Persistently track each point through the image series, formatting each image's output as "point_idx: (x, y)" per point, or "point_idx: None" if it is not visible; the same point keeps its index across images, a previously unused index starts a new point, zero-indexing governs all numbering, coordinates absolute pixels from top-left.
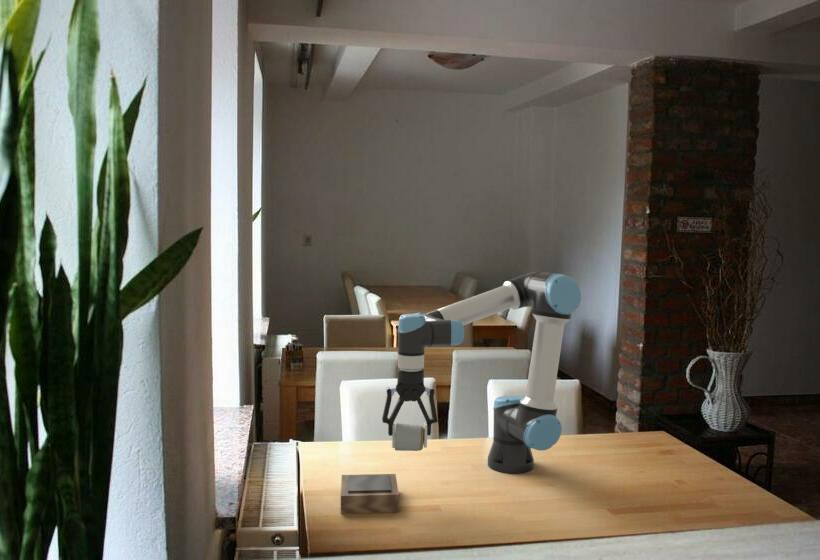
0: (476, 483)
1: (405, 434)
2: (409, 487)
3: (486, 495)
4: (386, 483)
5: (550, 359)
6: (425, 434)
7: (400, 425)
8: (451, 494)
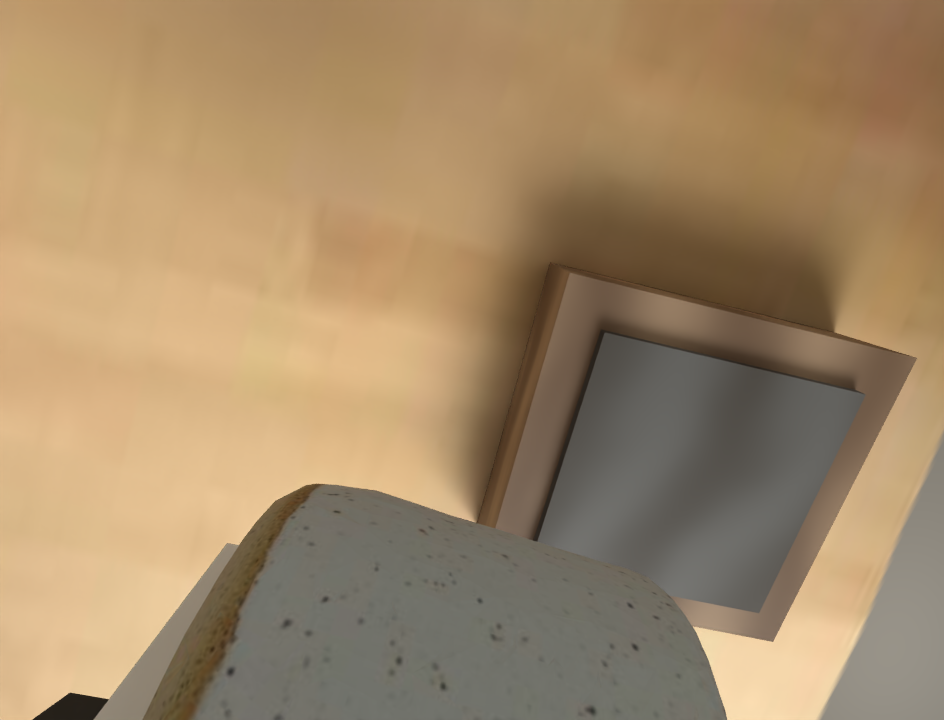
0: (43, 497)
1: (552, 703)
2: None
3: (17, 337)
4: (595, 441)
5: None
6: (138, 705)
7: None
8: (209, 401)
